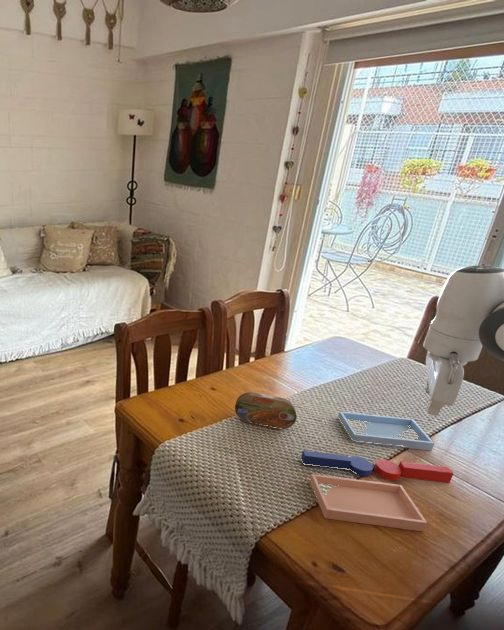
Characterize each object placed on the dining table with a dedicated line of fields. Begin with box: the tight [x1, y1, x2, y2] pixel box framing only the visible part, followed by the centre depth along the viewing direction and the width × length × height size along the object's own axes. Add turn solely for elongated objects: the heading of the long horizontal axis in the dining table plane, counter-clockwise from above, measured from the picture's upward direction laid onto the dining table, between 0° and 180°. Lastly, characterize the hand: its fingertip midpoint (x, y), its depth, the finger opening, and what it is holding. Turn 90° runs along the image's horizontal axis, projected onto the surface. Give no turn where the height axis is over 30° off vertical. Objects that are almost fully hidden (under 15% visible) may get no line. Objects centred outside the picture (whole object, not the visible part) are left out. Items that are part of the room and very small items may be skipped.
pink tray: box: [309, 473, 428, 532], centre depth 91 cm, size 18×10×2 cm, turn 80°
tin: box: [234, 391, 298, 430], centre depth 116 cm, size 15×3×8 cm, turn 68°
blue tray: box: [337, 411, 435, 452], centre depth 114 cm, size 18×10×2 cm, turn 80°
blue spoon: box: [300, 449, 374, 478], centre depth 102 cm, size 15×5×3 cm, turn 80°
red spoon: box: [373, 458, 454, 484], centre depth 99 cm, size 15×5×3 cm, turn 80°
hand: (430, 402), depth 93 cm, fingers open, 8 cm apart
